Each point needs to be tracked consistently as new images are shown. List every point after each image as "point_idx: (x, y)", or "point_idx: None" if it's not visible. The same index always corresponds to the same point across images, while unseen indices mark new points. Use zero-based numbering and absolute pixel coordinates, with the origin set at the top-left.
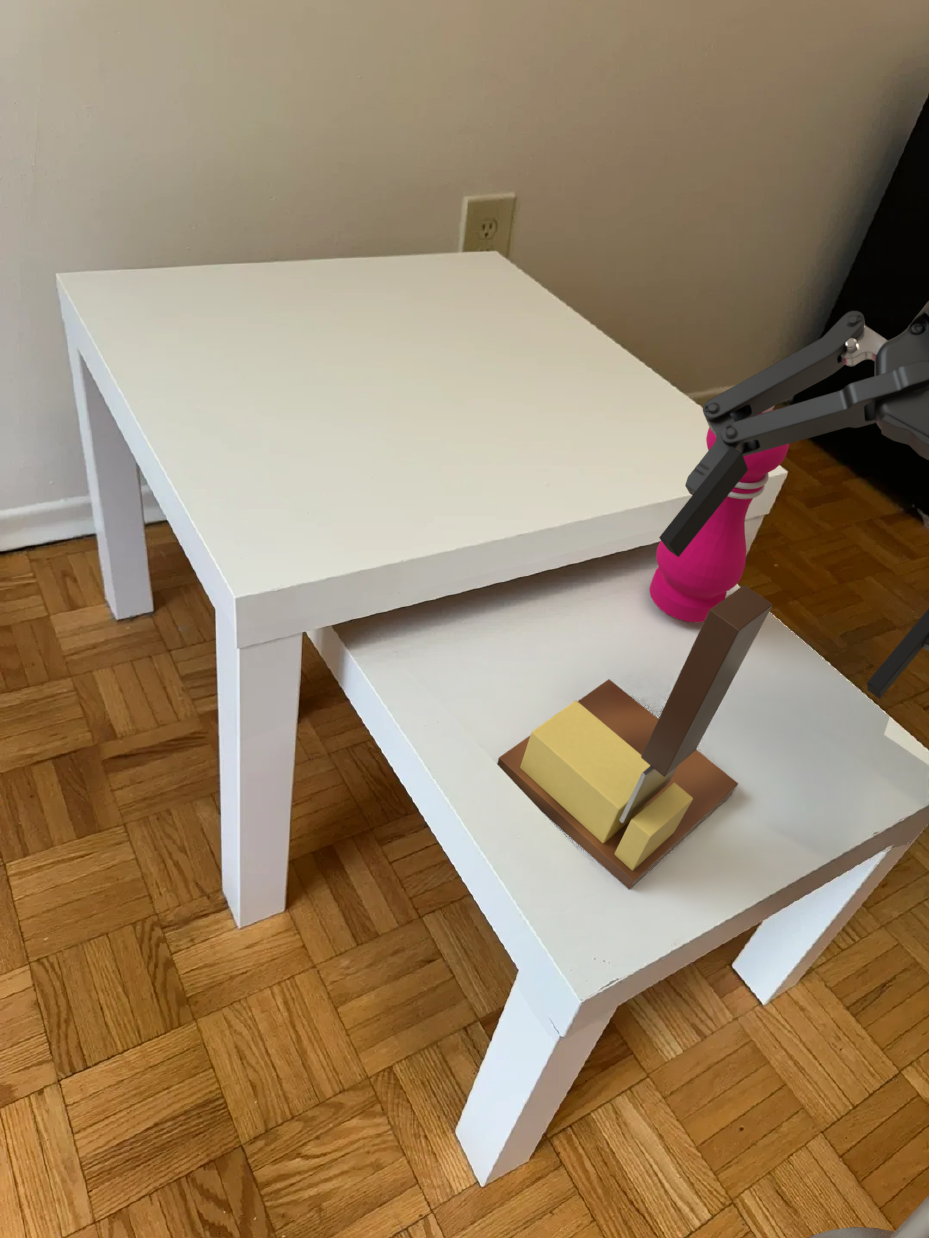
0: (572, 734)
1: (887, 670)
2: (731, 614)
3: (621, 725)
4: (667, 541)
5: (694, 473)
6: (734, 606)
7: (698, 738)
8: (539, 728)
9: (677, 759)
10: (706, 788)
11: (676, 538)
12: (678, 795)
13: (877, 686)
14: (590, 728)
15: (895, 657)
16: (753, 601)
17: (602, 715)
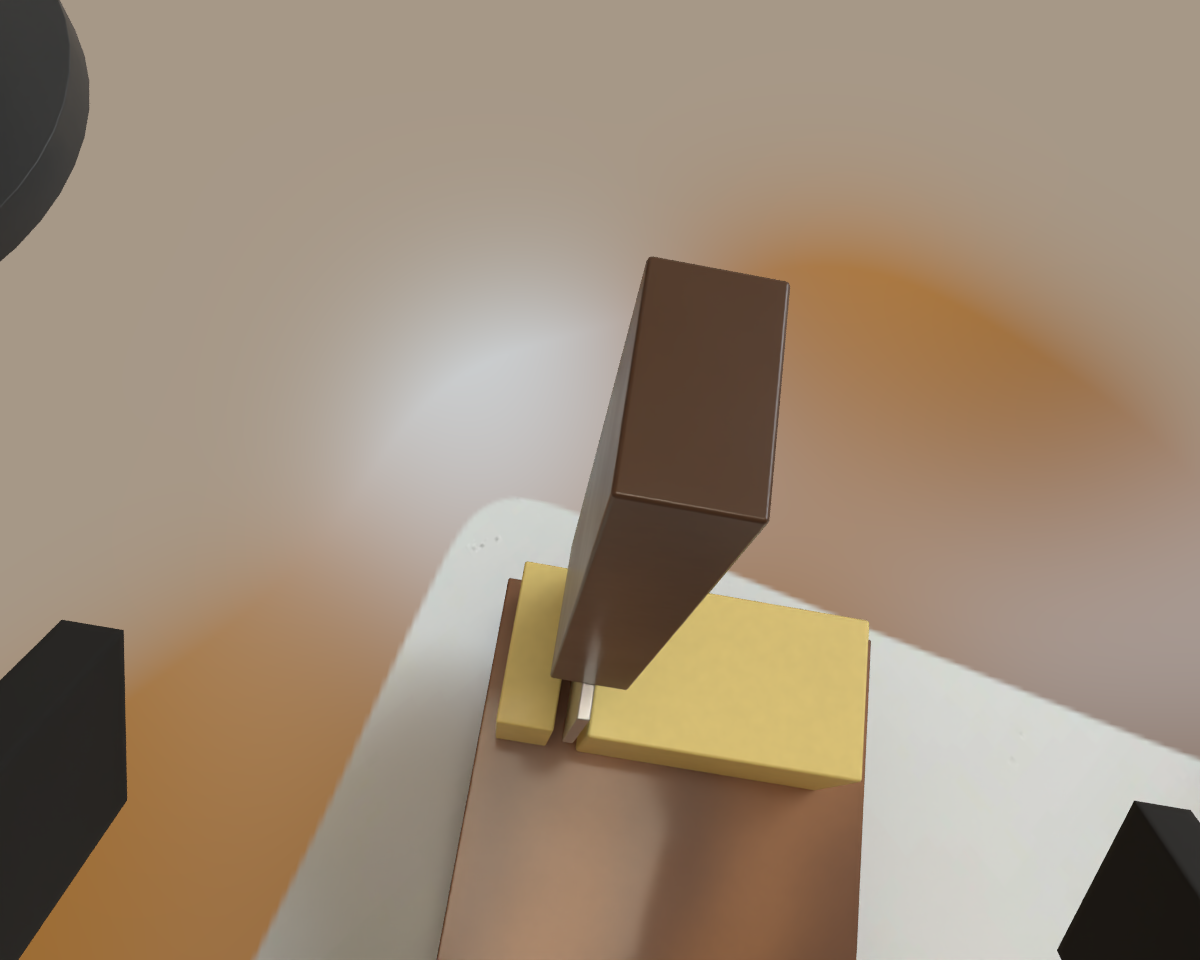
0: (802, 678)
1: (41, 675)
2: (714, 316)
3: (739, 931)
4: (1153, 811)
5: None
6: (728, 360)
7: (559, 631)
8: (863, 640)
9: (570, 560)
10: (488, 912)
11: (1145, 852)
12: (527, 701)
13: (75, 633)
14: (784, 726)
15: (11, 721)
16: (685, 445)
17: (790, 923)
